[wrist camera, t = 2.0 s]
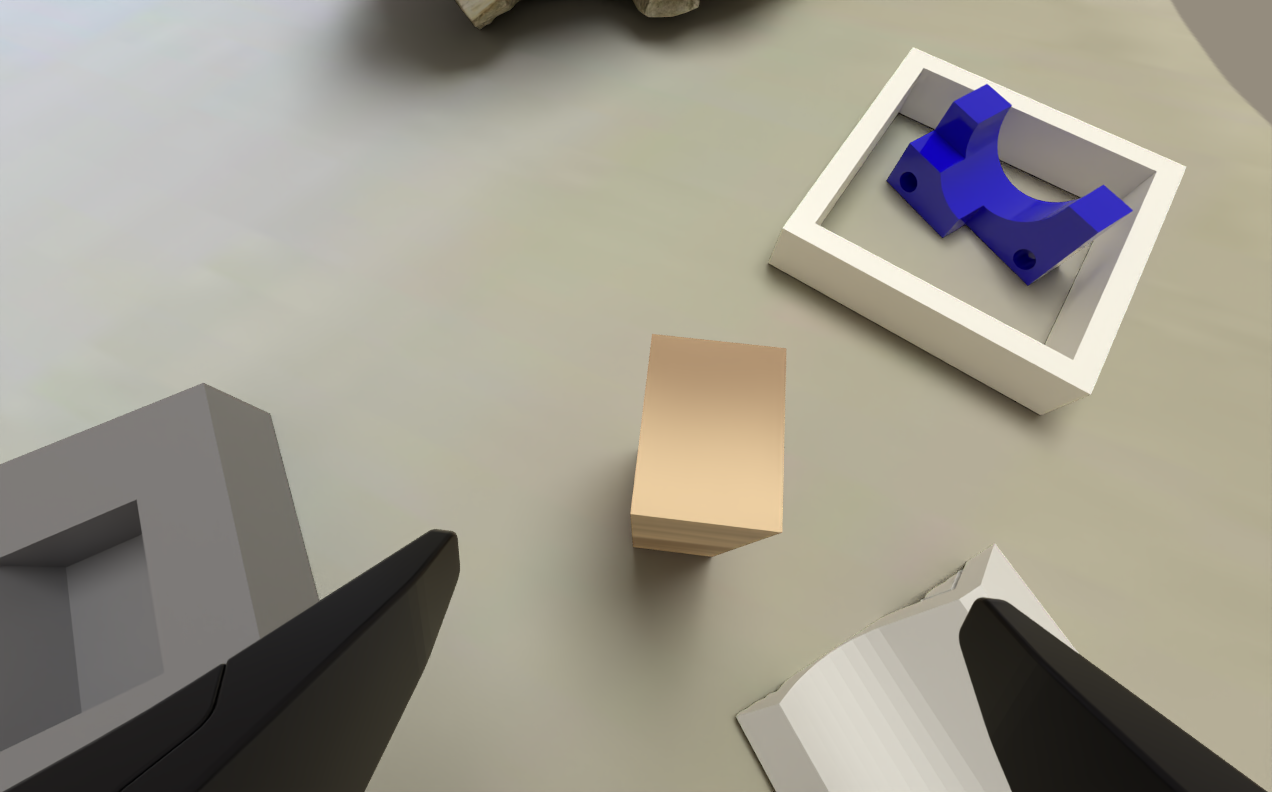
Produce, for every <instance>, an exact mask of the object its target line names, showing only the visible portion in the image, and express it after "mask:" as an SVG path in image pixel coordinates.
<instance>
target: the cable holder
mask: <svg viewBox="0 0 1272 792" xmlns="http://www.w3.org/2000/svg"><path fill="white" fill-rule="evenodd" d="M1011 107H1012V105H1011V104H1010V103H1009V102H1008V101H1007V100H1005V99H1004V98H1003V97H1002V96H1001V95H1000V94H999V93H997V92H996V91H995V90H994V89H993V88H992V87H990V86H989V85H988V84H986V85H984V86H982V87H980V88H978V89H976V90H974V91H972V92H970V93H968V94H967V95H965V96H963V97H961V98H959V99H957V100H955V101H953V103H952V104H951V106H950V107H949V109H948V110H947V112H946V113H945V115H944V116H943V118H942V119H941V121H940V122H939V124H938V126H937V127H936V129H935V130H934V131H932V132H930V133H928V134H926V135H924V136H922V137H920V138H919V139H917V140H915V141H913V142H911V143H910V144H909V145H908V147H907V149H906V150H905V152H904V153H903V155H902V157H901V158H900V160H899V161H898V163H897V165H896V166H895V168H894V169H893V171H892V173H891V174H890V176H889V177H888V179H887V182H888V183H889V184H890V185H891V186H892V187H893V188H894V189H895V190H896V191H897V192H898V193H899V194H900V195H901V196H902V197H903V198H904V199H905V200H906V201H907V202H908V203H909V204H910V205H911V206H912V207H913V208H914V209H915V210H916V211H917V212H918V213H919V214H920V215H921V217H922V218H923V219H924V220H925V221H926V222H927V223H928V224H929V225H930V226H931V227H932V228H933V229H934V230H935V231H936V232H937V233H938V234H939V235H940V236H941V237H942V238H943V237H945V236H947V235H948V234H950V233H952V232H954V231H955V230H957V229H959V228H960V227H962V226H964V225H965V224H966V225H967V226H968V227H969V228H970V229H971V230H972V231H973V232H974V233H975V234H976V235H977V236H978V237H979V238H980V239H981V240H982V241H983V242H984V243H985V244H986V245H987V246H988V247H989V248H990V249H991V250H992V251H993V252H994V253H995V254H996V255H997V256H998V257H999V258H1000V259H1001V260H1002V261H1003V262H1004V263H1005V264H1006V265H1007V266H1008V267H1009V268H1010V269H1011V270H1012V271H1013V272H1015V273H1016V274H1017V275H1018V276H1019V277H1020V278H1021V279H1022V280H1023V281H1024V282H1025V283H1026V284H1027V285H1028V286H1029V285H1030V284H1032V283H1033V282H1035V281H1036V280H1038V279H1040V278H1041V277H1043V276H1044V275H1046V274H1047V273H1049V272H1051V271H1052V270H1054V269H1055V268H1057V267H1058V266H1060V265H1061V264H1062V263H1064V262H1065V261H1066V260H1068V259H1069V258H1071V257H1072V256H1073V255H1075V254H1076V253H1077V252H1079V251H1080V250H1081V249H1083V248H1084V247H1085V246H1087V245H1088V244H1089V243H1091V242H1092V241H1093V240H1095V239H1096V238H1097V237H1099V236H1100V235H1101V234H1103V233H1104V232H1105V231H1107V230H1108V229H1109V228H1111V227H1112V226H1113V225H1115V224H1116V223H1117V222H1119V221H1120V220H1121V219H1123V218H1124V217H1125V216H1127V215H1128V214H1129V213H1131V212H1132V211H1133V210H1132V209H1131V208H1130V207H1129V206H1128V205H1126V204H1125V203H1124V202H1123V201H1122V200H1121V199H1120V198H1118V197H1117V196H1116V195H1115V194H1114V193H1113V192H1111V191H1110V190H1109V189H1108V188H1107V187H1106V186H1105V185H1102V186H1100V187H1099V188H1097V189H1095V190H1094V191H1092V192H1090V193H1089V194H1087V195H1086V196H1084V197H1082V198H1079V199H1076V200H1072V201H1067V202H1045V201H1041V200H1037V199H1034V198H1031V197H1029V196H1027V195H1025V194H1024V193H1022V192H1021V191H1019V190H1018V189H1017V188H1016V187H1015V186H1013V185H1012V183H1011V182H1010V181H1009V180H1008V178H1007V177H1006V175H1005V174H1004V172H1003V170H1002V167H1001V165H1000V161H999V157H998V148H997V147H998V135H999V131H1000V128H1001V125H1002V122H1003V120H1004V118H1005V116H1006V114H1007V112H1008V111H1009V109H1010V108H1011Z"/></svg>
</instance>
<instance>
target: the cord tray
mask: <svg viewBox="0 0 1272 792" xmlns="http://www.w3.org/2000/svg"><path fill="white" fill-rule="evenodd" d="M986 84H988V85H989V86H990V87H992V88H993V89H994V90H995V91H996V92H997V93H999V94H1000V95H1001V96H1002V97H1003V98H1004V99H1005V100H1007V101H1008V102H1009V103H1010V104H1011V105H1012V107H1011V108H1010V109H1009V111H1008V112H1007V114H1006V116H1005V118H1004V120H1003V122H1002V125H1001V128H1000V131H999V135H998V147H997V148H998V157H999V160H1002V161H1004V162H1006V163H1008V164H1010V165H1012V166H1014V167H1017V168H1019V169H1021V170H1023V171H1025V172H1027V173H1029V174H1032V175H1034V176H1036V177H1038V178H1040V179H1042V180H1044V181H1047V182H1049V183H1051V184H1053V185H1055V186H1057V187H1059V188H1062V189H1064V190H1066V191H1068V192H1070V193H1072V194H1074V195H1077V196H1079V197H1081V198H1082V197H1084V196H1086V195H1087V194H1089V193H1090V192H1092V191H1094V190H1095V189H1097V188H1099V187H1100V186H1102V185H1105V186H1106V187H1107V188H1108V189H1109V190H1110V191H1111V192H1113V193H1114V194H1115V195H1116V196H1117V197H1118V198H1120V199H1121V200H1122V201H1123V202H1124V203H1125V204H1126V205H1128V206H1129V207H1130V208H1131V209H1132V210H1133V211H1132V212H1131V213H1129V214H1128V215H1127V216H1125V217H1124V218H1123V219H1121V220H1120V221H1119V222H1117V223H1116V224H1115V225H1113V226H1112V227H1111V228H1109V229H1108V230H1107V231H1105V232H1104V233H1103V234H1101V235H1100V236H1099V237H1097V238H1096V239H1095V240H1094V241H1093V243H1092V245H1091V247H1090V249H1089V251H1088V253H1087V256H1086V258H1085V260H1084V262H1083V264H1082V266H1081V268H1080V271H1079V273H1078V275H1077V277H1076V279H1075V281H1074V283H1073V285H1072V288H1071V290H1070V292H1069V294H1068V296H1067V298H1066V300H1065V302H1064V305H1063V307H1062V309H1061V311H1060V313H1059V315H1058V317H1057V320H1056V322H1055V324H1054V326H1053V328H1052V330H1051V332H1050V334H1049V337H1048V339H1047V341H1046V343H1045V345H1044V344H1042V343H1040V342H1038V341H1036V340H1034V339H1032V338H1031V337H1029V336H1027V335H1025V334H1023V333H1021V332H1019V331H1017V330H1015V329H1014V328H1012V327H1010V326H1008V325H1006V324H1004V323H1002V322H1000V321H998V320H997V319H995V318H993V317H991V316H989V315H987V314H985V313H983V312H982V311H980V310H978V309H976V308H974V307H972V306H970V305H968V304H966V303H965V302H963V301H961V300H959V299H957V298H955V297H953V296H951V295H949V294H948V293H946V292H944V291H942V290H940V289H938V288H936V287H934V286H933V285H931V284H929V283H927V282H925V281H923V280H921V279H919V278H917V277H916V276H914V275H912V274H910V273H908V272H906V271H904V270H902V269H900V268H899V267H897V266H895V265H893V264H891V263H889V262H887V261H885V260H884V259H882V258H880V257H878V256H876V255H874V254H872V253H870V252H868V251H867V250H865V249H863V248H861V247H859V246H857V245H855V244H853V243H851V242H850V241H848V240H846V239H844V238H842V237H840V236H838V235H836V234H835V233H833V232H831V231H829V230H827V229H825V228H823V227H821V226H820V225H821V224H822V222H823V221H824V219H825V218H826V217H827V215H828V214H829V212H830V211H831V209H832V208H833V206H834V205H835V204H836V202H837V201H838V199H839V198H840V196H841V195H842V193H843V192H844V191H845V189H846V188H847V186H848V185H849V183H850V182H851V181H852V179H853V178H854V176H855V175H856V173H857V172H858V170H859V169H860V168H861V166H862V165H863V163H864V162H865V160H866V159H867V157H868V156H869V155H870V153H871V152H872V150H873V149H874V147H875V146H876V144H877V143H878V142H879V140H880V139H881V137H882V136H883V134H884V133H885V131H886V130H887V129H888V127H889V126H890V124H891V123H892V121H893V120H894V118H895V117H896V116H897V114H898V113H901V114H903V115H905V116H907V117H909V118H912V119H914V120H916V121H918V122H920V123H922V124H924V125H927V126H929V127H931V128H933V129H936V127H937V126H938V124H939V122H940V121H941V119H942V118H943V116H944V115H945V113H946V112H947V110H948V109H949V107H950V106H951V104H952V103H953V101H955V100H957V99H959V98H961V97H963V96H965V95H967V94H968V93H970V92H972V91H974V90H976V89H978V88H980V87H982V86H984V85H986ZM1185 169H1186V166H1183V165H1181V164H1179V163H1177V162H1174V161H1172V160H1170V159H1167V158H1165V157H1163V156H1161V155H1158V154H1156V153H1154V152H1151V151H1149V150H1147V149H1145V148H1142V147H1140V146H1138V145H1135V144H1133V143H1131V142H1129V141H1126V140H1124V139H1122V138H1119V137H1117V136H1115V135H1113V134H1110V133H1108V132H1106V131H1103V130H1101V129H1099V128H1097V127H1094V126H1092V125H1090V124H1087V123H1085V122H1083V121H1081V120H1078V119H1076V118H1074V117H1071V116H1069V115H1067V114H1065V113H1062V112H1060V111H1058V110H1055V109H1053V108H1051V107H1049V106H1046V105H1044V104H1042V103H1039V102H1037V101H1035V100H1033V99H1030V98H1028V97H1026V96H1023V95H1021V94H1019V93H1017V92H1014V91H1012V90H1010V89H1007V88H1005V87H1003V86H1001V85H998V84H996V83H994V82H991V81H989V80H987V79H985V78H982V77H980V76H978V75H976V74H973V73H971V72H969V71H966V70H964V69H962V68H960V67H957V66H955V65H953V64H950V63H948V62H946V61H944V60H941V59H939V58H937V57H934V56H932V55H930V54H928V53H925V52H923V51H921V50H918V49H916V48H914V47H913V48H912V49H911V51H910V52H909V54H908V55H907V56H906V58H905V59H904V60H903V62H902V63H901V65H900V66H899V67H898V69H897V70H896V72H895V73H894V74H893V76H892V77H891V78H890V80H889V81H888V83H887V84H886V85H885V87H884V88H883V90H882V91H881V92H880V94H879V95H878V96H877V98H876V99H875V101H874V102H873V103H872V105H871V106H870V108H869V109H868V110H867V112H866V113H865V114H864V116H863V117H862V119H861V120H860V121H859V123H858V124H857V126H856V127H855V128H854V130H853V131H852V132H851V134H850V135H849V137H848V138H847V139H846V141H845V142H844V144H843V145H842V146H841V148H840V149H839V150H838V152H837V153H836V155H835V156H834V157H833V159H832V160H831V162H830V163H829V164H828V166H827V167H826V168H825V170H824V171H823V173H822V174H821V175H820V177H819V178H818V180H817V181H816V182H815V184H814V185H813V187H812V188H811V189H810V191H809V192H808V193H807V195H806V196H805V198H804V199H803V200H802V202H801V203H800V205H799V206H798V207H797V209H796V210H795V211H794V213H793V214H792V216H791V217H790V218H789V220H788V221H787V223H786V224H785V225H784V227H783V228H782V230H781V233H780V235H779V238H778V240H777V243H776V245H775V247H774V250H773V252H772V255H771V257H770V260H769V262H768V263H769V264H771V265H773V266H774V267H776V268H778V269H780V270H782V271H783V272H785V273H787V274H789V275H791V276H792V277H794V278H796V279H798V280H800V281H801V282H803V283H805V284H807V285H808V286H810V287H812V288H814V289H816V290H817V291H819V292H821V293H823V294H825V295H826V296H828V297H830V298H832V299H834V300H835V301H837V302H839V303H841V304H842V305H844V306H846V307H848V308H850V309H851V310H853V311H855V312H857V313H859V314H860V315H862V316H864V317H866V318H868V319H869V320H871V321H873V322H875V323H876V324H878V325H880V326H882V327H884V328H885V329H887V330H889V331H891V332H893V333H894V334H896V335H898V336H900V337H902V338H903V339H905V340H907V341H909V342H910V343H912V344H914V345H916V346H918V347H919V348H921V349H923V350H925V351H927V352H928V353H930V354H932V355H934V356H936V357H937V358H939V359H941V360H943V361H944V362H946V363H948V364H950V365H952V366H953V367H955V368H957V369H959V370H961V371H962V372H964V373H966V374H968V375H970V376H971V377H973V378H975V379H977V380H979V381H980V382H982V383H984V384H986V385H987V386H989V387H991V388H993V389H995V390H996V391H998V392H1000V393H1002V394H1004V395H1005V396H1007V397H1009V398H1011V399H1013V400H1014V401H1016V402H1018V403H1020V404H1021V405H1023V406H1025V407H1027V408H1029V409H1030V410H1032V411H1034V412H1036V413H1038V414H1039V415H1043V414H1045V413H1048V412H1050V411H1053V410H1055V409H1057V408H1060V407H1062V406H1065V405H1067V404H1069V403H1072V402H1074V401H1077V400H1079V399H1082V398H1084V397H1086V396H1089V395H1091V393H1092V391H1093V388H1094V386H1095V383H1096V381H1097V379H1098V376H1099V374H1100V372H1101V369H1102V367H1103V364H1104V362H1105V360H1106V357H1107V355H1108V353H1109V350H1110V348H1111V345H1112V343H1113V341H1114V338H1115V336H1116V334H1117V331H1118V329H1119V326H1120V324H1121V322H1122V319H1123V317H1124V315H1125V312H1126V310H1127V307H1128V305H1129V303H1130V300H1131V298H1132V295H1133V293H1134V291H1135V288H1136V286H1137V284H1138V281H1139V279H1140V276H1141V274H1142V272H1143V269H1144V267H1145V265H1146V262H1147V260H1148V257H1149V255H1150V253H1151V250H1152V248H1153V246H1154V243H1155V241H1156V238H1157V236H1158V234H1159V231H1160V229H1161V226H1162V224H1163V222H1164V219H1165V217H1166V215H1167V212H1168V210H1169V207H1170V205H1171V203H1172V200H1173V198H1174V196H1175V193H1176V191H1177V188H1178V186H1179V184H1180V181H1181V179H1182V177H1183V174H1184V172H1185Z"/></svg>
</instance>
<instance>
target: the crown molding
mask: <svg viewBox="0 0 1272 792" xmlns="http://www.w3.org/2000/svg"><path fill="white" fill-rule="evenodd" d="M980 597H986V598H994V599H1001V600H1005V601H1007V602H1009V603H1010V604H1012V605H1013V606H1014V607H1016V608H1017V609H1018V610H1020V611H1021V612H1022V613H1024V614H1025V615H1027V616H1028V617H1029V618H1031V619H1032V620H1033V621H1035V622H1036V623H1037V624H1039V625H1040V626H1042V627H1043V628H1044V629H1046V630H1047V631H1048V632H1050V633H1051V634H1052V635H1054V636H1055V637H1057V638H1058V639H1059V640H1061V641H1062V642H1063V643H1065V644H1066V645H1068V646H1069V647H1070V648H1072V649H1073V650H1074V651H1076V652H1077V650H1076V649H1075V648H1074V647H1073V645H1072V644H1071V643H1070V641H1069V640H1068V639H1067V637H1066V636H1065V635H1064V633H1063V632H1062V631H1061V629H1060V628H1059V627H1058V626H1057V624H1056V623H1055V622H1054V620H1053V619H1052V618H1051V616H1050V615H1049V614H1048V612H1047V611H1046V610H1045V608H1044V607H1043V606H1042V605H1041V603H1040V602H1039V601H1038V599H1037V598H1036V597H1035V595H1034V594H1033V593H1032V591H1031V590H1030V589H1029V587H1028V586H1027V585H1026V583H1025V582H1024V581H1023V580H1022V578H1021V577H1020V576H1019V574H1018V573H1017V572H1016V570H1015V569H1014V568H1013V566H1012V565H1011V564H1010V562H1009V561H1008V560H1007V559H1006V557H1005V556H1004V555H1003V553H1002V552H1001V551H1000V549H999V548H998V547H997V545H996V544H995V543H994V544H992V545H991V546H989V547H988V548H986V549H985V550H983V551H982V552H980V553H978V554H977V555H975V556H974V557H972V558H971V559H969V560H968V561H967V562H966V564H965V567H964V569H962V570H960V571H958V573H957V574H955V575H953V576H951V577H950V578H949V579H947V580H946V581H945V582H944V583H942V584H940V585H938V586H937V587H935V588H933V589H932V590H931V591H929V592H928V593H927V594H926V596H925V598H924V599H922V600H921V601H920V602H918V603H915V604H913V605H910V606H907V607H904V608H902V609H900V610H897V611H895V612H893V613H890V614H888V615H886V616H883V617H881V618H879V619H878V620H876V621H875V622H873V623H872V624H870V625H869V626H867V627H866V628H864V629H863V630H861V631H860V632H858V633H857V634H855V635H854V636H852V637H851V638H849V639H847V640H846V641H844V642H843V643H841V644H840V645H838V646H837V647H835V648H834V649H832V650H831V651H829V652H828V653H826V654H825V655H823V656H822V657H820V658H819V659H817V660H815V661H814V662H812V663H811V664H809V665H808V666H806V667H805V668H803V669H802V670H800V671H799V672H797V673H796V674H794V675H793V676H791V677H790V678H788V679H787V680H786V681H785V682H784V683H783V684H782V686H781V687H780V688H779V689H778V690H777V691H776V692H773V693H770V694H768V695H767V696H766V697H765V698H764V699H761V700H759V701H757V702H755V703H753V704H752V705H751V706H749V707H748V708H746V709H744V710H743V711H740V712H739V713H738V714H737V715H736V718H737V720H738V722H739V723H740V725H741V727H742V729H743V731H744V733H745V735H746V736H747V738H748V740H749V742H750V744H751V746H752V748H753V750H754V751H755V753H756V755H757V757H758V759H759V761H760V763H761V764H762V766H763V768H764V770H765V772H766V774H767V776H768V778H769V779H770V781H771V783H772V785H773V787H774V789H775V791H776V792H1012V791H1011V789H1010V787H1009V784H1008V782H1007V780H1006V777H1005V775H1004V773H1003V770H1002V768H1001V765H1000V763H999V761H998V758H997V756H996V753H995V751H994V748H993V746H992V743H991V741H990V738H989V735H988V732H987V729H986V727H985V724H984V721H983V718H982V714H981V711H980V708H979V705H978V702H977V699H976V695H975V692H974V689H973V686H972V683H971V680H970V676H969V673H968V670H967V667H966V664H965V661H964V658H963V654H962V651H961V648H960V644H959V631H960V628H961V626H962V624H963V622H964V620H965V618H966V616H967V614H968V612H969V610H970V608H971V606H972V604H973V602H974V601H975V600H976V599H977V598H980ZM1077 653H1078V652H1077ZM1078 654H1079V653H1078Z"/></svg>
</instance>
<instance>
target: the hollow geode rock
mask: <svg viewBox="0 0 1272 792" xmlns="http://www.w3.org/2000/svg"><path fill="white" fill-rule="evenodd" d="M455 1H456V3H457V4H458V6H459V7H460V8H461V10H462V11H463V12H464V13H465V15H466V16H467V17H468V18H469V20H470V21H471V22H472V24H473V25H474V26H475V27H477V28H479V29H480V30H481V29H482V28H483V27H484V26H485V25H487V24H490V23H491V22H492V21H493V20H494V19H495V18H496V16H498V15H500V14H503V13H505V12H507V11H509V10H511V9H512V7H513V6H514V5H515V4H516V3H517V2H518V1H520V0H455ZM633 2H634V4H635V5H636V7H637V9H638V10H639V11H640V12H641V13H643V14H644V15H646V16H647V17H673V16H676V15H680V14H683V13H686V12H689V11H691V10H693V9H696V8H698V7H699V2H700V0H633Z"/></svg>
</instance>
